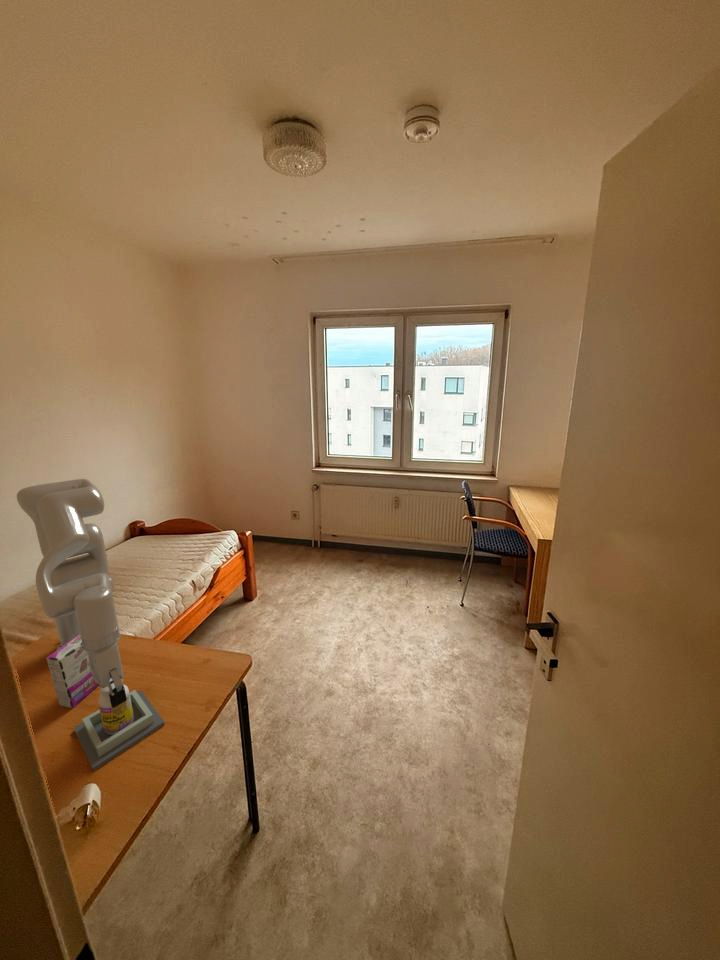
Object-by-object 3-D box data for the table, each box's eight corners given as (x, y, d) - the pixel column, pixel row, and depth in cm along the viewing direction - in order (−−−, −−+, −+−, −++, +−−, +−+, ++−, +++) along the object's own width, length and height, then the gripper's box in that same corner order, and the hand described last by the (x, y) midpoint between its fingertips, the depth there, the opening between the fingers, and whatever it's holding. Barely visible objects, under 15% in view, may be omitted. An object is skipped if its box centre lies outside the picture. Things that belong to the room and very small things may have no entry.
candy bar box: (92, 676, 114) (82, 630, 109) (106, 678, 113) (97, 632, 108) (57, 706, 103) (44, 657, 99) (72, 709, 102) (60, 660, 98)
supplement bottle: (100, 739, 93) (90, 697, 89) (109, 716, 99) (100, 677, 95) (130, 732, 94) (121, 691, 91) (137, 711, 100) (130, 671, 97)
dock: (74, 730, 96) (71, 719, 95) (141, 692, 108) (139, 682, 107) (93, 771, 86) (90, 759, 85) (164, 724, 98) (162, 713, 97)
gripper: (72, 628, 92) (85, 683, 97) (93, 662, 82) (106, 723, 86) (107, 614, 98) (117, 667, 102) (131, 645, 87) (141, 702, 92)
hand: (112, 693), depth 94 cm, fingers open, 9 cm apart
